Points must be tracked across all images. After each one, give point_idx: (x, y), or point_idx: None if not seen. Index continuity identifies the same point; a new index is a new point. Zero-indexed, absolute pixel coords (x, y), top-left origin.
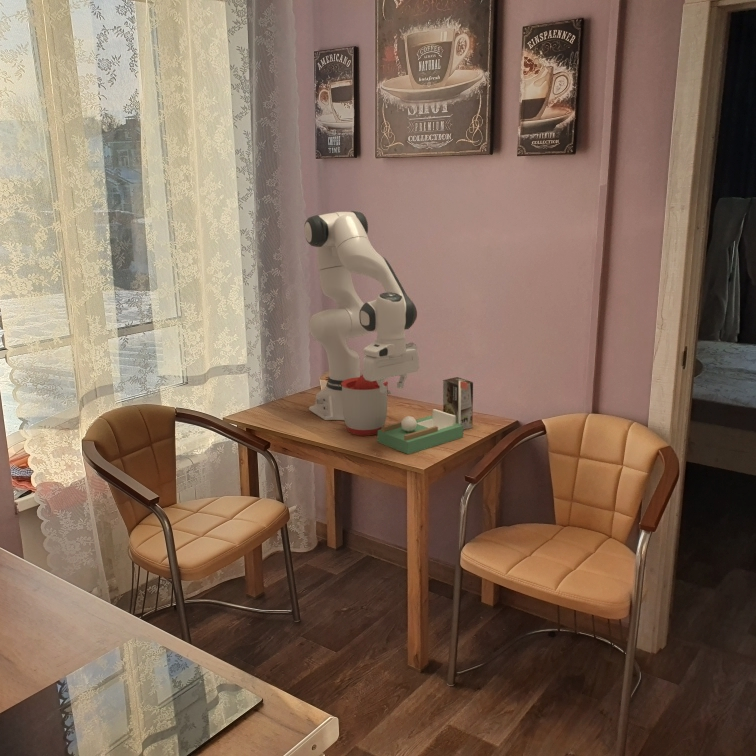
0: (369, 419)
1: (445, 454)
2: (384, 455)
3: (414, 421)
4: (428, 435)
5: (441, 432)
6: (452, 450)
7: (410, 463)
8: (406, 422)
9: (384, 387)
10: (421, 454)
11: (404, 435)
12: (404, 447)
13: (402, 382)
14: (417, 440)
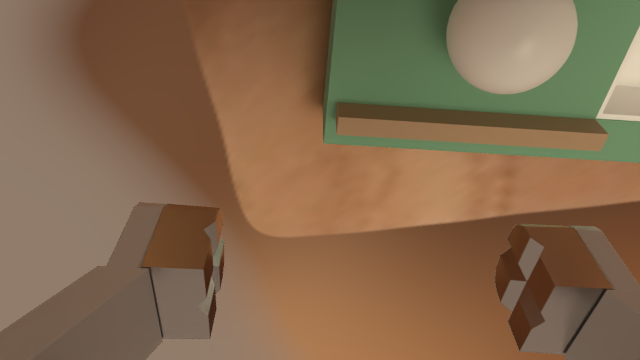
0: None
1: (435, 210)
2: (218, 30)
3: (513, 93)
4: (488, 146)
5: (578, 158)
6: (496, 201)
7: (248, 183)
8: (463, 63)
9: (152, 333)
10: (367, 147)
11: (337, 120)
12: (325, 94)
13: (570, 357)
14: (393, 144)
